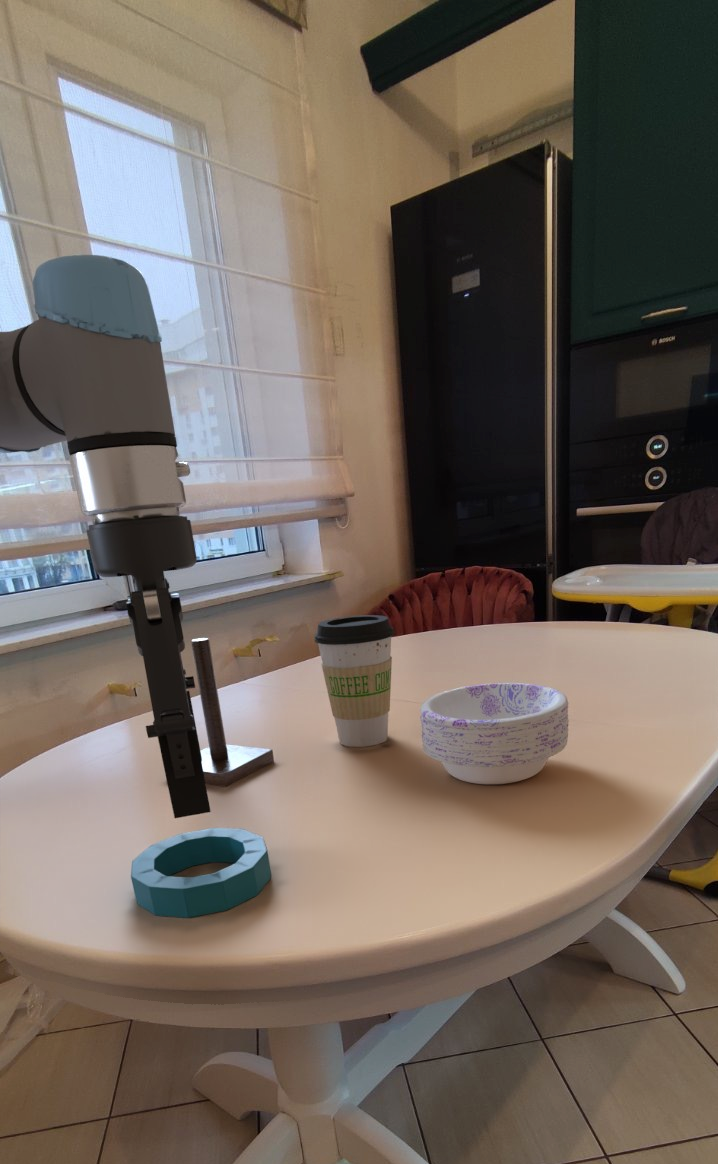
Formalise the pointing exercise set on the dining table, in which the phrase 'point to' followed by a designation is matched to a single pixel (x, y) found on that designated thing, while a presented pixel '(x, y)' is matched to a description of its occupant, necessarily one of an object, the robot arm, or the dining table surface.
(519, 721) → the paper bowls
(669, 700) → the dining table surface
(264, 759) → the peg stand
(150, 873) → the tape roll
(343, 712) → the coffee cup
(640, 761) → the dining table surface
